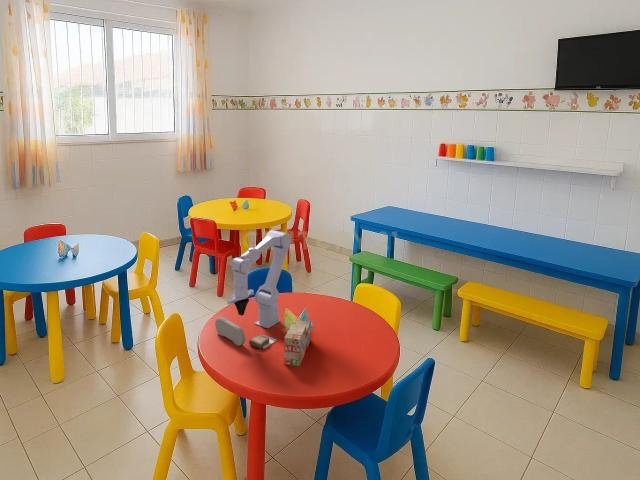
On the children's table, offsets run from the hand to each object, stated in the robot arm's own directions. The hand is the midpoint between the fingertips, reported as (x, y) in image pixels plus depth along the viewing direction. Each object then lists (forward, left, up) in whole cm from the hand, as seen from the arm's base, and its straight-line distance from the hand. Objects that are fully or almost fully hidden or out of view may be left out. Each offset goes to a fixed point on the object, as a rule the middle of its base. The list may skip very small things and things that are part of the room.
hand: (241, 314), depth 201 cm
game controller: (+5, -2, -11) cm, 12 cm away
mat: (-1, +11, -10) cm, 15 cm away
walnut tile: (+4, +11, -9) cm, 15 cm away
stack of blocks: (-3, +28, -11) cm, 30 cm away
